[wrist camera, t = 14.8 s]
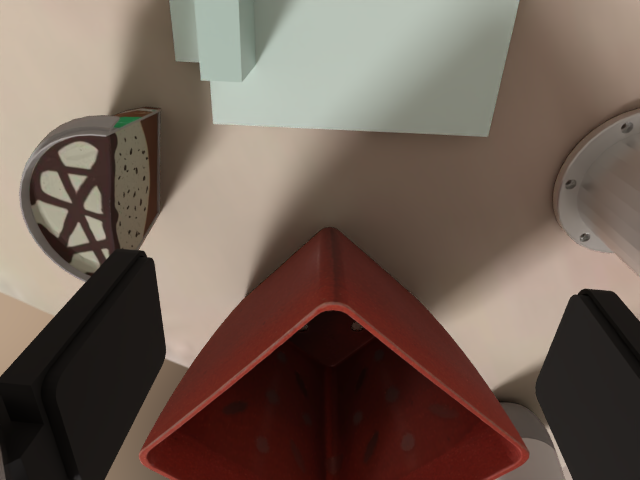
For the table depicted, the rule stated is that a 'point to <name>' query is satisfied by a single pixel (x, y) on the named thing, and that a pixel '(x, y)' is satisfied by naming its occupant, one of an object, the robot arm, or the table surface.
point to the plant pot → (332, 386)
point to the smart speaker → (533, 447)
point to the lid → (349, 62)
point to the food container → (93, 188)
